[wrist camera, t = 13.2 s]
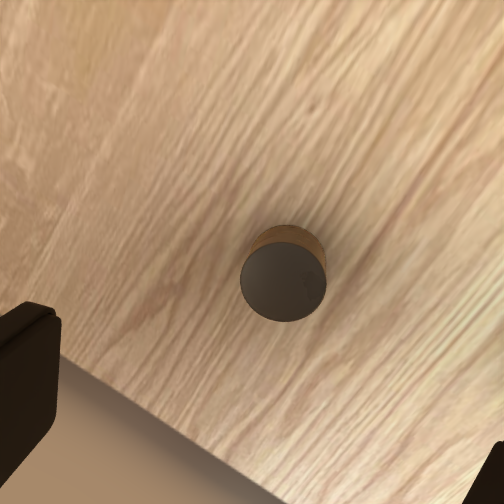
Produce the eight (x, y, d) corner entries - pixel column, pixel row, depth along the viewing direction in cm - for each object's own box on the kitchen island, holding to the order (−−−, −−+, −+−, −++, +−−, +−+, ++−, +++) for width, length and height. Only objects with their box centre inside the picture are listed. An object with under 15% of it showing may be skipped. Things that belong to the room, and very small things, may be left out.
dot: (242, 284, 23) (232, 309, 20) (259, 216, 21) (250, 232, 19) (313, 304, 22) (312, 332, 20) (335, 236, 21) (337, 255, 18)
